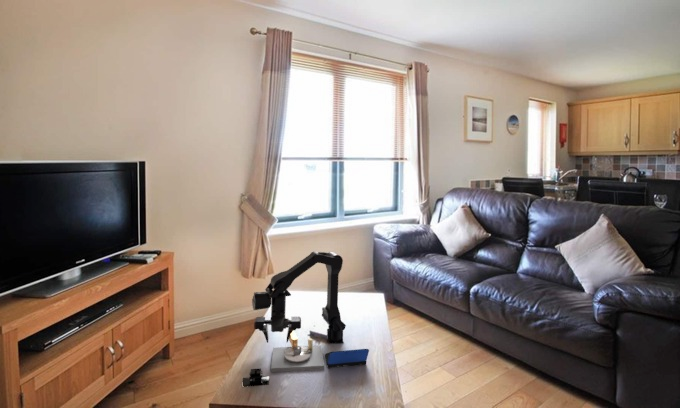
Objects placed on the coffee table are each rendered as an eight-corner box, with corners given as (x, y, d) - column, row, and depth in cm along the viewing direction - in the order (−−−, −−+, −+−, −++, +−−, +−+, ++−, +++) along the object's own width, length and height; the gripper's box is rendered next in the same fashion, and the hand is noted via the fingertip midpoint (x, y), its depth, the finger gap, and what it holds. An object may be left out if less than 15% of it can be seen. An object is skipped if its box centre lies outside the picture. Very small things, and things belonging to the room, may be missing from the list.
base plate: (321, 348, 155) (321, 335, 154) (324, 369, 140) (324, 354, 139) (273, 351, 152) (273, 337, 152) (271, 372, 138) (271, 357, 137)
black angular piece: (237, 390, 128) (236, 378, 127) (239, 378, 135) (239, 366, 134) (273, 387, 130) (273, 375, 129) (273, 375, 137) (273, 363, 136)
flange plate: (318, 348, 151) (319, 338, 151) (302, 365, 139) (302, 353, 139) (290, 341, 157) (291, 331, 156) (272, 356, 145) (272, 345, 144)
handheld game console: (361, 353, 153) (361, 332, 152) (369, 371, 140) (370, 348, 139) (324, 356, 150) (324, 334, 149) (328, 375, 137) (329, 352, 136)
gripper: (253, 315, 140) (252, 353, 142) (301, 314, 143) (300, 352, 145) (255, 303, 151) (255, 338, 153) (301, 303, 153) (299, 338, 156)
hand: (277, 342), depth 151 cm, fingers open, 8 cm apart
